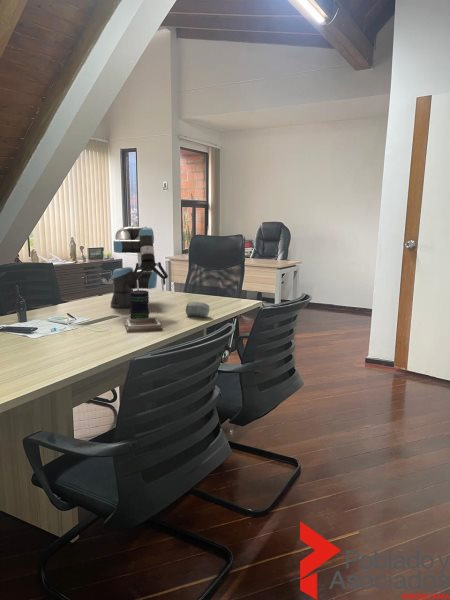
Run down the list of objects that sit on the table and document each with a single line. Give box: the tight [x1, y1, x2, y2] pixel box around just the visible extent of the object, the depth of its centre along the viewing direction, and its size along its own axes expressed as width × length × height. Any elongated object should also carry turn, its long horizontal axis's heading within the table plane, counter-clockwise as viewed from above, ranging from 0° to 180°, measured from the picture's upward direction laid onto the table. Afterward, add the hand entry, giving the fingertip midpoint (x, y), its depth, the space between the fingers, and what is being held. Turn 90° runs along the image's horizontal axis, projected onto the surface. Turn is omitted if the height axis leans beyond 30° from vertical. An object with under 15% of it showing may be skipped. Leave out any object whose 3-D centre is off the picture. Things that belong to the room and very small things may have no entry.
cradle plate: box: [124, 317, 164, 333], centre depth 212 cm, size 17×17×3 cm
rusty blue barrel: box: [129, 289, 150, 319], centre depth 227 cm, size 10×10×15 cm
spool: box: [185, 301, 211, 318], centre depth 238 cm, size 14×10×10 cm
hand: (150, 291), depth 236 cm, fingers open, 13 cm apart
